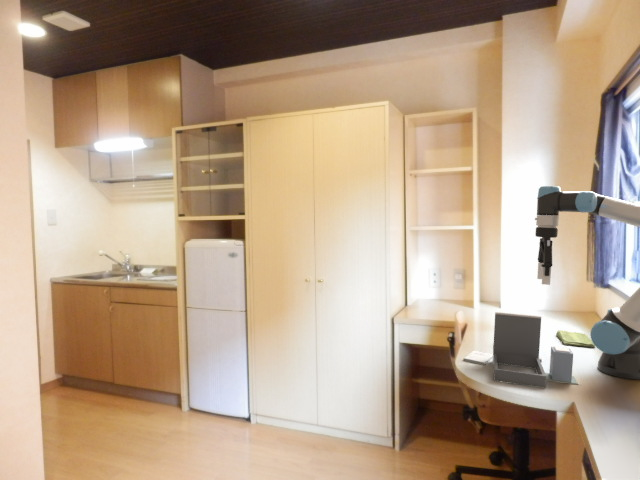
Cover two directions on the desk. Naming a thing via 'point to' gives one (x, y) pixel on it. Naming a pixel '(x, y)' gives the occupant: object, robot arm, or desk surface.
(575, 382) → the mat
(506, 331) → the case
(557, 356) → the block
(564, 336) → the washcloth
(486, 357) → the external hard drive
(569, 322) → the desk surface
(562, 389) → the desk surface
